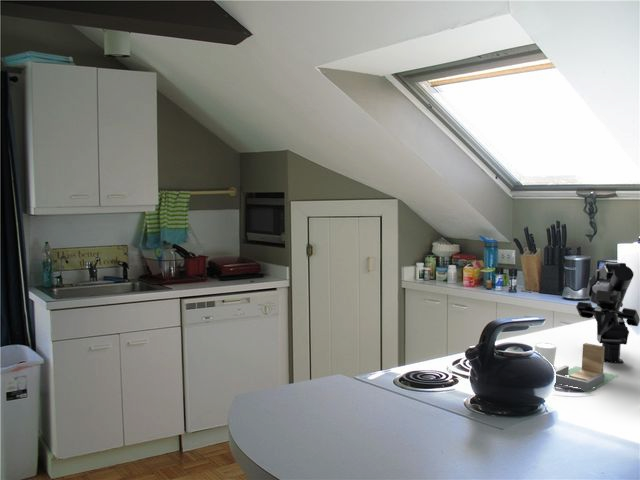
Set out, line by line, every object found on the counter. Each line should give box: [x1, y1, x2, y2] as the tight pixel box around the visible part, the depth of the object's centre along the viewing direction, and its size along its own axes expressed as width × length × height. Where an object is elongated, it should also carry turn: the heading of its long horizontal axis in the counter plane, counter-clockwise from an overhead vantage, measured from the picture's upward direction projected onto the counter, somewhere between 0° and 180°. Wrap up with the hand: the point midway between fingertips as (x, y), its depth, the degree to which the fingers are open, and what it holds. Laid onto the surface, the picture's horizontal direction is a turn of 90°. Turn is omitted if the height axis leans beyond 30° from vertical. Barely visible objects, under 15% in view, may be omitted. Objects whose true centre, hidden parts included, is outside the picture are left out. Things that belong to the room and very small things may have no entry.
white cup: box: [534, 342, 557, 366], centre depth 226 cm, size 7×7×7 cm
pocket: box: [554, 365, 604, 392], centre depth 209 cm, size 12×12×2 cm
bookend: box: [569, 342, 605, 381], centre depth 214 cm, size 11×6×9 cm, turn 136°
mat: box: [556, 366, 619, 393], centre depth 213 cm, size 22×14×1 cm, turn 136°
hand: (598, 334), depth 219 cm, fingers closed
